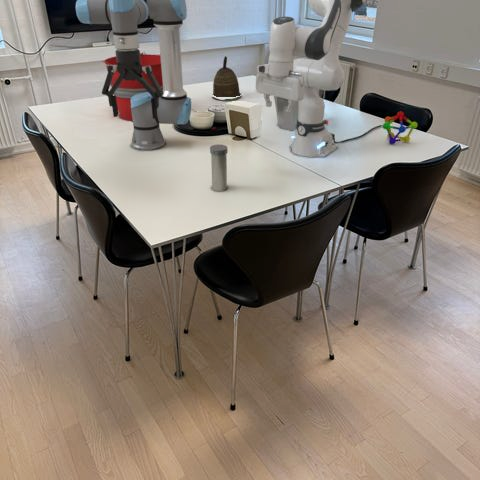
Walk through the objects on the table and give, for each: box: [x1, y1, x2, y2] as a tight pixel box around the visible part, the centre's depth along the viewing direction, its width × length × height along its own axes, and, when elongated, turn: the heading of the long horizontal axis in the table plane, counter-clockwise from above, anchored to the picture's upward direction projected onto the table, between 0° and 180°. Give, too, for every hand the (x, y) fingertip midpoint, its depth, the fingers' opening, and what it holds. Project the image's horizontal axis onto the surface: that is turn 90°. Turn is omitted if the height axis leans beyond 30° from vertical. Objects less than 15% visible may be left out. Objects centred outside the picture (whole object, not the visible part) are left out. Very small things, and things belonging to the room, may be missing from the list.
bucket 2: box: [273, 89, 326, 131], centre depth 226 cm, size 30×30×28 cm
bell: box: [212, 56, 242, 97], centre depth 278 cm, size 19×26×20 cm
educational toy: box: [382, 110, 418, 145], centre depth 207 cm, size 16×13×15 cm
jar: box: [210, 153, 228, 192], centre depth 163 cm, size 6×6×16 cm
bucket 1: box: [100, 51, 163, 122], centre depth 241 cm, size 35×35×30 cm
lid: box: [209, 144, 229, 155], centre depth 160 cm, size 6×6×2 cm
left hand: (135, 116), depth 150 cm, fingers open, 13 cm apart
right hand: (278, 109), depth 162 cm, fingers open, 8 cm apart
